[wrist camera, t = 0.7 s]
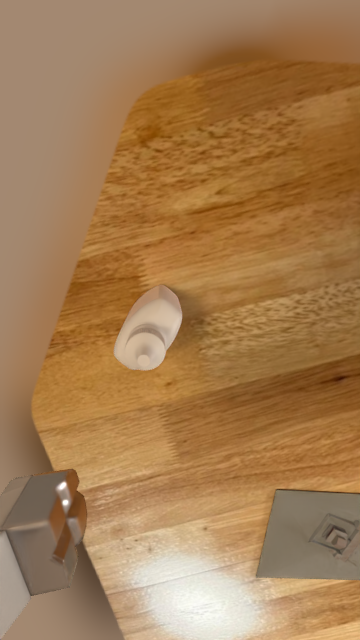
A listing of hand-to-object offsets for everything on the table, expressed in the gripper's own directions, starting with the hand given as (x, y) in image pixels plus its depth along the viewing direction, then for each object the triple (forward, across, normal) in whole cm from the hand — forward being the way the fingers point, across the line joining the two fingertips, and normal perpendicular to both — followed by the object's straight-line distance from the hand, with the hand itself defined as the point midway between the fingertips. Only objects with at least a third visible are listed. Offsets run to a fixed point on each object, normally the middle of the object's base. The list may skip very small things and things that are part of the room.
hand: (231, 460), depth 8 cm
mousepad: (+21, -18, +30) cm, 41 cm away
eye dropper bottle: (+21, +3, 0) cm, 21 cm away
